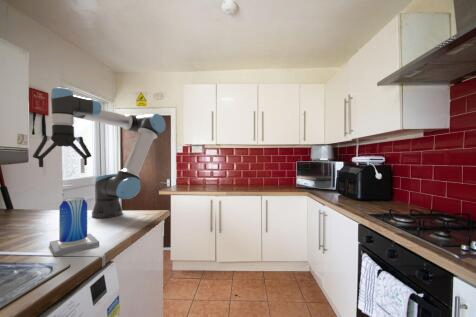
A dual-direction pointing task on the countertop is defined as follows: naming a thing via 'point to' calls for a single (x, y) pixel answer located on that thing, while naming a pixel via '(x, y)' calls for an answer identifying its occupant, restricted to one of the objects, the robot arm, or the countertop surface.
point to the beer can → (73, 221)
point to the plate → (73, 246)
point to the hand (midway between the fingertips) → (64, 174)
